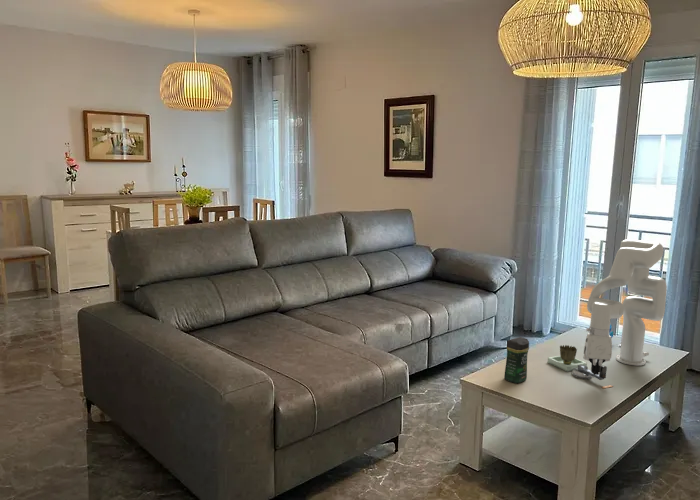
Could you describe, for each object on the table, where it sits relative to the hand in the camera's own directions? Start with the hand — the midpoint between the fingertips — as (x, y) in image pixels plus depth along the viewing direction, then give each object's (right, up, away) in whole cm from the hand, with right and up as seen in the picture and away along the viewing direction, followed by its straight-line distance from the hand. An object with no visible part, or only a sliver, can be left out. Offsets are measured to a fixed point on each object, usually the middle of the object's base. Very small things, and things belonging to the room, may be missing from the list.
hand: (595, 373), depth 229 cm
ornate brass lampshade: (-2, -1, +24) cm, 24 cm away
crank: (+1, -2, +6) cm, 7 cm away
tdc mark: (+5, -6, -1) cm, 7 cm away
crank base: (-1, -4, +12) cm, 12 cm away
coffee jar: (-32, -4, +6) cm, 33 cm away
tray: (-2, -2, +24) cm, 24 cm away
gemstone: (+30, +3, +55) cm, 63 cm away
